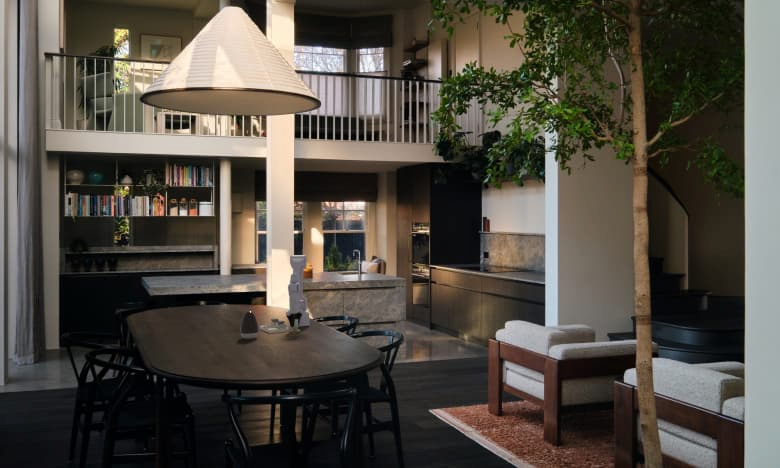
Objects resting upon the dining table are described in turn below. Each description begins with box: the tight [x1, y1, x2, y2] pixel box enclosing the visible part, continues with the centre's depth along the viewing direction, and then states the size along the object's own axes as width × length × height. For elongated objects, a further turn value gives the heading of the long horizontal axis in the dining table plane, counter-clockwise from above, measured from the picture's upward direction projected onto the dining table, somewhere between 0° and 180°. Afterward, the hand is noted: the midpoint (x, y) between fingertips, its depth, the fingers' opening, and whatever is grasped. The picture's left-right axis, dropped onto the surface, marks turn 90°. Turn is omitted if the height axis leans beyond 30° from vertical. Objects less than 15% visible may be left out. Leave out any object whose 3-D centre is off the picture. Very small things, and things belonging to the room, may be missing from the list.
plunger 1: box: [270, 317, 280, 322], centre depth 429 cm, size 4×4×3 cm
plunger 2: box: [277, 320, 286, 325], centre depth 419 cm, size 4×4×3 cm
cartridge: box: [290, 319, 299, 330], centre depth 418 cm, size 4×4×6 cm
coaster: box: [289, 328, 301, 333], centre depth 418 cm, size 6×6×1 cm
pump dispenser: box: [239, 311, 260, 340], centre depth 395 cm, size 10×10×15 cm
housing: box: [259, 320, 290, 334], centre depth 422 cm, size 12×19×4 cm, turn 28°
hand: (294, 326), depth 418 cm, fingers closed on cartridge, 4 cm apart
